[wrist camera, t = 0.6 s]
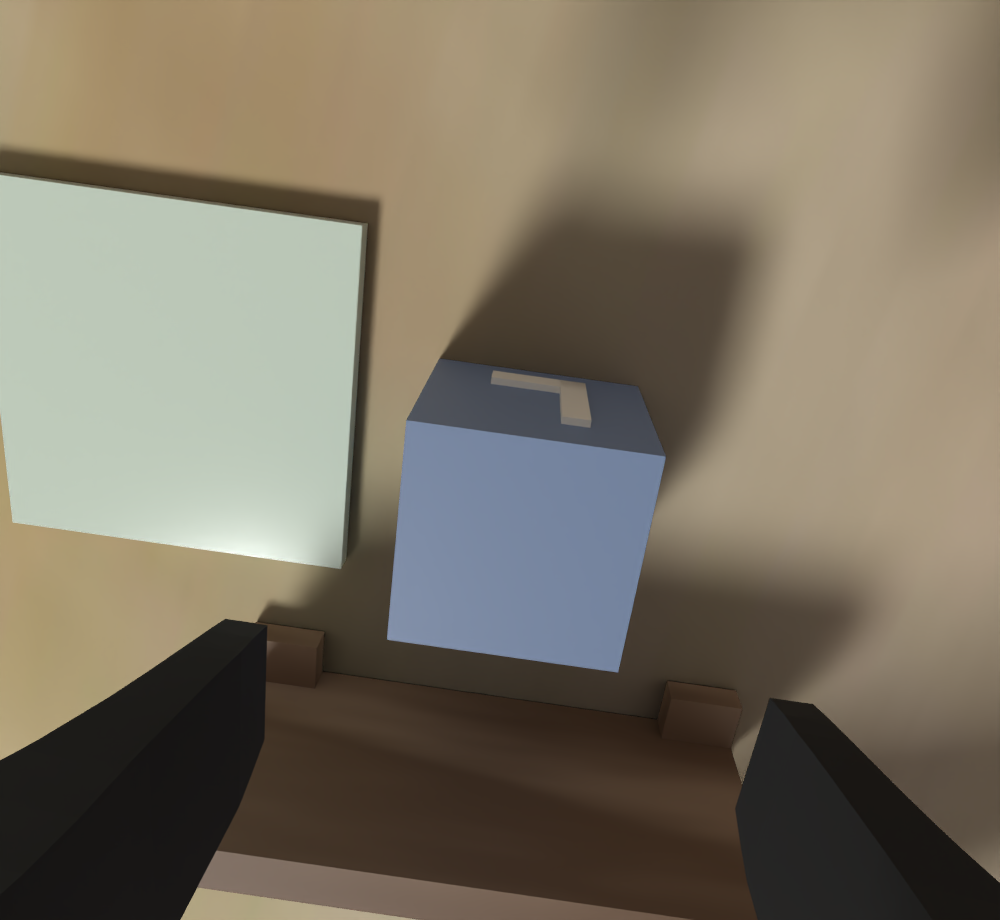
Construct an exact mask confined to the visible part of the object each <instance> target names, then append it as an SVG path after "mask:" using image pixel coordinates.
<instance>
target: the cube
mask: <svg viewBox="0 0 1000 920" xmlns="http://www.w3.org/2000/svg"><path fill="white" fill-rule="evenodd" d="M665 459H666V455H665V453H664V450H663V448H662V445H661V443H660V440H659V438H658V435H657V433H656V430H655V428H654V425H653V423H652V420H651V418H650V415H649V413H648V410H647V408H646V405H645V403H644V400H643V398H642V395H641V393H640V390H639V388H638V386H632V385H625V384H618V383H611V382H603V381H596V380H589V379H582V378H575V377H568V376H561V375H554V374H546V373H539V372H532V371H525V370H518V369H511V368H504V367H497V366H489V365H482V364H475V363H468V362H461V361H454V360H447V359H439V360H438V362H437V364H436V366H435V368H434V370H433V372H432V373H431V375H430V377H429V379H428V381H427V383H426V385H425V387H424V388H423V390H422V392H421V394H420V396H419V398H418V400H417V402H416V403H415V405H414V407H413V409H412V411H411V413H410V415H409V416H408V418H407V420H406V431H405V443H404V454H403V465H402V476H401V487H400V499H399V510H398V521H397V532H396V543H395V555H394V566H393V577H392V588H391V600H390V611H389V622H388V633H387V640H393V641H400V642H407V643H414V644H421V645H428V646H435V647H442V648H449V649H456V650H463V651H470V652H477V653H484V654H491V655H499V656H506V657H513V658H520V659H527V660H534V661H541V662H548V663H555V664H562V665H569V666H576V667H583V668H590V669H597V670H604V671H611V672H618V670H619V666H620V661H621V657H622V652H623V648H624V643H625V639H626V634H627V630H628V625H629V621H630V616H631V612H632V607H633V603H634V598H635V594H636V589H637V585H638V580H639V576H640V571H641V567H642V562H643V558H644V553H645V549H646V544H647V540H648V535H649V531H650V526H651V522H652V517H653V513H654V508H655V504H656V499H657V495H658V490H659V486H660V481H661V477H662V472H663V468H664V463H665Z"/></svg>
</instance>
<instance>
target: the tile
mask: <svg viewBox="0 0 1000 920" xmlns="http://www.w3.org/2000/svg"><path fill="white" fill-rule="evenodd" d="M367 229H368V223H361V222H354V221H346V220H339V219H332V218H325V217H318V216H311V215H303V214H296V213H289V212H282V211H275V210H268V209H260V208H253V207H246V206H239V205H232V204H225V203H218V202H210V201H203V200H196V199H189V198H182V197H175V196H167V195H160V194H153V193H146V192H139V191H132V190H125V189H117V188H110V187H103V186H96V185H89V184H82V183H74V182H67V181H60V180H53V179H46V178H39V177H31V176H24V175H17V174H10V173H3V172H0V414H1V423H2V431H3V440H4V449H5V458H6V467H7V476H8V485H9V494H10V503H11V511H12V520H13V522H14V523H21V524H28V525H35V526H42V527H49V528H56V529H63V530H70V531H77V532H84V533H91V534H98V535H105V536H112V537H119V538H126V539H134V540H141V541H148V542H155V543H162V544H169V545H176V546H183V547H190V548H197V549H204V550H211V551H218V552H225V553H232V554H239V555H246V556H253V557H260V558H267V559H274V560H281V561H288V562H295V563H302V564H309V565H316V566H323V567H330V568H337V569H341V568H342V566H343V564H344V562H345V560H346V557H347V541H348V526H349V510H350V494H351V479H352V463H353V448H354V432H355V416H356V401H357V385H358V369H359V354H360V338H361V323H362V307H363V291H364V276H365V260H366V245H367Z"/></svg>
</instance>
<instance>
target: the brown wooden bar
mask: <svg viewBox="0 0 1000 920" xmlns="http://www.w3.org/2000/svg"><path fill="white" fill-rule="evenodd" d="M256 624H263V625H267V660H266V700H265V739H264V742H263V745H262V748H261V750H260V753H259V756H258V759H257V761H256V764H255V767H254V770H253V772H252V775H251V778H250V780H249V783H248V785H247V788H246V790H245V793H244V795H243V798H242V801H241V803H240V806H239V808H238V810H237V812H236V814H235V816H234V818H233V820H232V822H231V824H230V826H229V827H228V829H227V831H226V833H225V835H224V837H223V839H222V841H221V843H220V845H219V847H218V849H217V851H216V853H215V855H214V856H213V858H212V860H211V862H210V864H209V866H208V868H207V870H206V872H205V874H204V876H203V877H202V879H201V881H200V883H199V885H198V888H205V889H212V890H219V891H226V892H233V893H240V894H247V895H253V896H260V897H267V898H274V899H281V900H288V901H295V902H302V903H308V904H315V905H322V906H329V907H336V908H343V909H350V910H357V911H363V912H370V913H377V914H384V915H391V916H398V917H405V918H412V919H418V920H758V919H757V916H756V912H755V909H754V905H753V902H752V898H751V895H750V891H749V887H748V884H747V880H746V874H745V868H744V863H743V857H742V851H741V845H740V838H739V832H738V825H737V818H736V811H735V807H736V804H737V801H738V797H739V794H740V791H741V788H742V784H741V780H740V777H739V774H738V771H737V767H736V764H735V761H734V758H733V754H732V751H731V746H732V742H733V739H734V736H735V732H736V729H737V726H738V722H739V719H740V716H741V712H742V706H741V703H740V700H739V698H738V695H737V692H736V691H735V690H728V689H721V688H714V687H707V686H700V685H693V684H686V683H679V682H672V681H667V684H666V688H665V692H664V696H663V700H662V704H661V708H660V712H659V716H658V720H657V719H650V718H643V717H636V716H629V715H622V714H615V713H608V712H601V711H594V710H587V709H580V708H573V707H566V706H559V705H552V704H545V703H538V702H531V701H524V700H517V699H510V698H503V697H496V696H489V695H482V694H475V693H468V692H461V691H454V690H447V689H441V688H434V687H427V686H420V685H413V684H406V683H399V682H392V681H385V680H378V679H371V678H364V677H357V676H350V675H343V674H336V673H329V672H322V668H323V649H324V632H323V631H316V630H309V629H302V628H295V627H288V626H281V625H274V624H267V623H260V622H256Z"/></svg>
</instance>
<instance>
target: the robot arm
mask: <svg viewBox="0 0 1000 920" xmlns="http://www.w3.org/2000/svg"><path fill="white" fill-rule="evenodd" d="M266 660H267V625H263V624H256V623H249V622H242V621H236V620H229V619H225V620H223V621H221V622H220V623H218V624H217V625H215V626H214V627H212V628H211V629H209V630H208V631H206V632H205V633H204V634H202V635H201V636H199V637H198V638H196V639H195V640H193V641H192V642H190V643H189V644H187V645H186V646H185V647H183V648H182V649H180V650H179V651H177V652H176V653H174V654H173V655H171V656H170V657H169V658H167V659H166V660H164V661H163V662H161V663H160V664H158V665H157V666H155V667H154V668H152V669H151V670H150V671H148V672H147V673H145V674H144V675H142V676H140V677H139V678H137V679H136V680H134V681H133V682H131V683H130V684H128V685H127V686H125V687H124V688H122V689H121V690H119V691H118V692H116V693H115V694H113V695H112V696H110V697H109V698H107V699H105V700H104V701H102V702H100V703H99V704H97V705H95V706H94V707H92V708H90V709H89V710H87V711H85V712H84V713H82V714H80V715H79V716H77V717H75V718H74V719H72V720H70V721H69V722H67V723H65V724H64V725H62V726H60V727H59V728H57V729H55V730H54V731H52V732H50V733H49V734H47V735H45V736H44V737H42V738H40V739H39V740H37V741H35V742H33V743H32V744H30V745H28V746H26V747H24V748H23V749H21V750H19V751H17V752H15V753H13V754H11V755H10V756H8V757H6V758H4V759H2V760H0V920H180V919H181V917H182V916H183V914H184V912H185V910H186V908H187V906H188V904H189V902H190V900H191V898H192V896H193V895H194V893H195V891H196V889H197V887H198V885H199V883H200V881H201V879H202V877H203V876H204V874H205V872H206V870H207V868H208V866H209V864H210V862H211V860H212V858H213V856H214V855H215V853H216V851H217V849H218V847H219V845H220V843H221V841H222V839H223V837H224V835H225V833H226V831H227V829H228V827H229V826H230V824H231V822H232V820H233V818H234V816H235V814H236V812H237V810H238V808H239V806H240V803H241V801H242V798H243V795H244V793H245V790H246V788H247V785H248V783H249V780H250V778H251V775H252V772H253V770H254V767H255V764H256V761H257V759H258V756H259V753H260V750H261V748H262V745H263V742H264V739H265V700H266ZM735 811H736V818H737V825H738V832H739V838H740V845H741V851H742V857H743V863H744V868H745V874H746V880H747V884H748V887H749V891H750V895H751V898H752V902H753V905H754V909H755V912H756V916H757V919H758V920H1000V883H999V882H998V881H997V880H996V879H995V878H994V877H993V876H991V875H990V874H989V873H988V872H987V871H986V870H985V869H984V868H982V867H981V866H980V865H979V864H978V863H977V862H976V861H975V860H974V859H972V858H971V857H970V856H969V855H968V854H967V853H966V852H965V851H963V850H962V849H961V848H960V847H959V846H958V845H957V844H956V843H955V842H954V841H953V840H952V839H951V838H949V837H948V836H947V835H946V834H945V833H944V832H943V831H942V830H941V829H940V828H939V827H938V826H937V825H936V824H935V823H933V822H932V821H931V820H930V819H929V818H928V817H927V816H926V815H925V814H924V813H923V812H922V811H921V810H920V809H919V808H918V807H917V806H916V805H915V804H914V803H913V802H912V801H911V800H910V799H909V798H908V797H907V796H906V795H905V794H904V793H903V792H902V791H901V790H900V789H899V788H898V787H897V786H896V785H895V784H894V783H893V782H892V781H891V780H890V779H889V778H888V777H887V776H886V775H885V774H884V773H883V772H882V771H881V770H880V769H879V768H878V767H877V766H876V765H875V764H874V763H873V762H872V761H871V760H870V759H869V758H868V757H867V756H866V755H865V754H864V753H863V752H862V751H861V750H860V749H859V748H858V747H857V746H856V745H855V744H854V743H853V742H852V741H851V740H850V739H849V738H848V737H847V736H846V735H845V734H844V733H843V732H842V731H841V730H840V729H839V728H838V727H837V726H836V725H835V724H834V723H833V722H832V721H830V720H829V719H828V718H827V717H826V716H825V715H824V714H823V713H822V712H821V711H820V710H819V709H818V708H816V707H815V706H814V705H813V704H808V703H801V702H794V701H787V700H780V699H773V698H770V699H769V703H768V706H767V709H766V712H765V715H764V718H763V722H762V725H761V728H760V731H759V734H758V737H757V740H756V744H755V747H754V750H753V753H752V756H751V759H750V763H749V766H748V769H747V772H746V775H745V778H744V782H743V785H742V788H741V791H740V794H739V797H738V801H737V804H736V807H735Z"/></svg>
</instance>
